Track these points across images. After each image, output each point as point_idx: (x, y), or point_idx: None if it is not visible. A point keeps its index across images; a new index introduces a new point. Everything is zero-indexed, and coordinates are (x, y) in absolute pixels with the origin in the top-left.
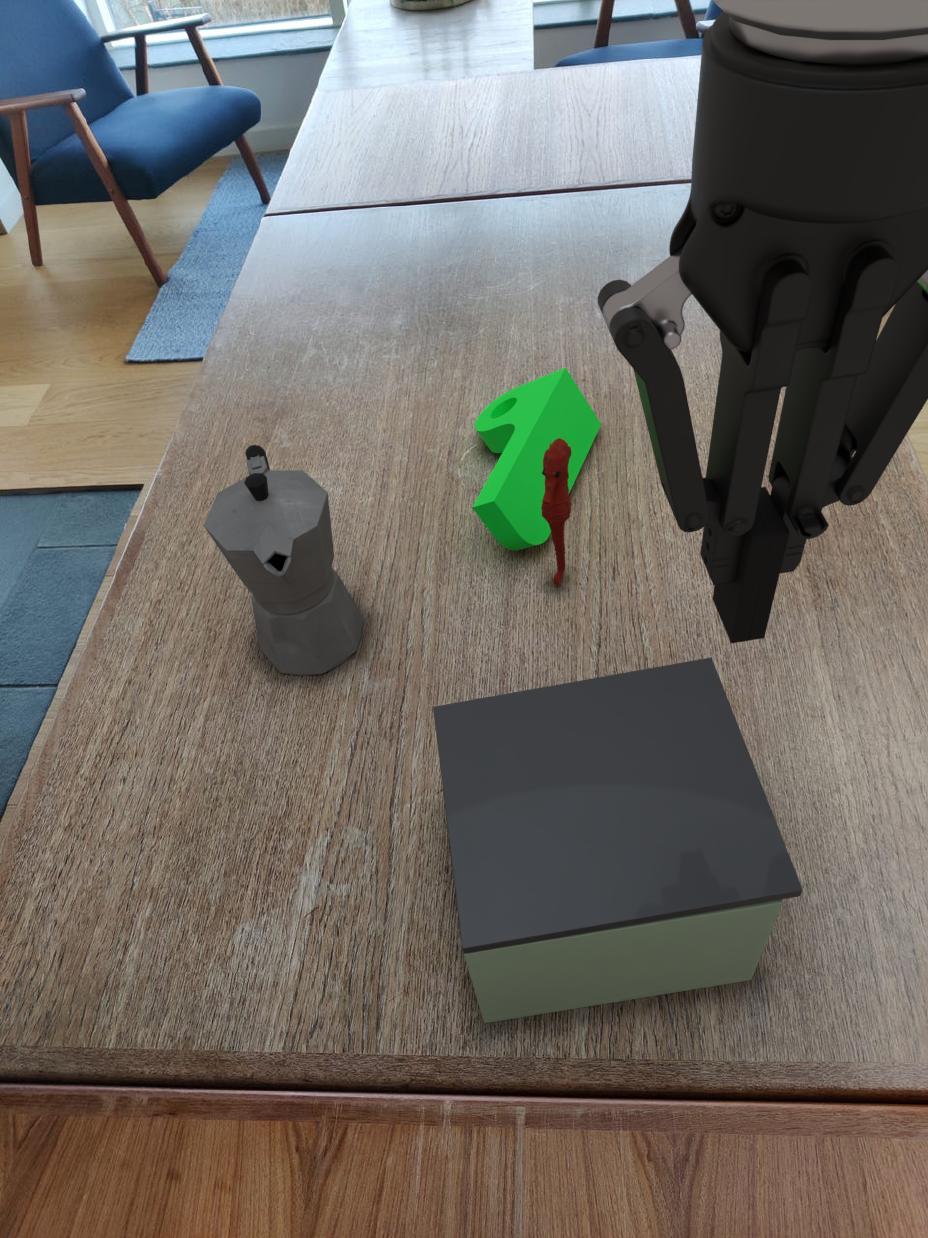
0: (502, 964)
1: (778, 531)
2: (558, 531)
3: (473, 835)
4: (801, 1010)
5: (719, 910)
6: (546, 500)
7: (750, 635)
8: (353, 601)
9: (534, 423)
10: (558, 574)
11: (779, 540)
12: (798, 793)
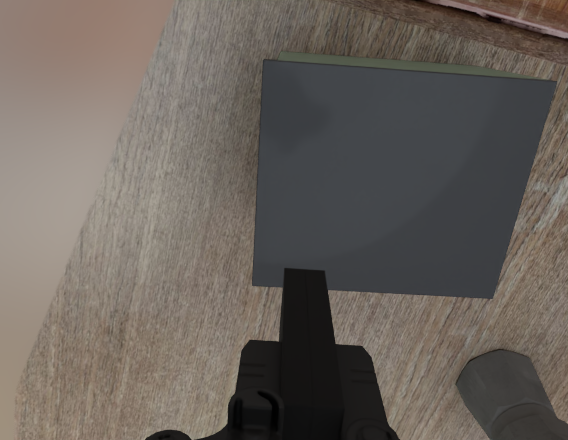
0: (503, 74)
1: (297, 409)
2: None
3: (507, 178)
4: (254, 21)
5: None
6: None
7: (302, 273)
8: (468, 401)
9: None
10: None
11: (295, 393)
12: (195, 178)
